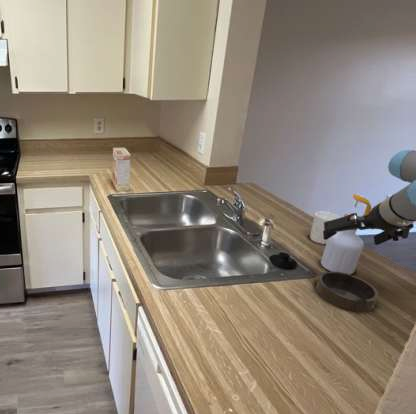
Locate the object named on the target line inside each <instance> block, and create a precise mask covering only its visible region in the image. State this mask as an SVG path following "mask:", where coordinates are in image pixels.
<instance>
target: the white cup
mask: <svg viewBox="0 0 416 414" xmlns="http://www.w3.org/2000/svg"><path fill="white" fill-rule="evenodd" d="M338 218H341V216H339V215H338V214H336V213H333V212H330V211H324V210H321V211H315V213H314V215H313V220H312V223H311V228H310V235H309V239H310V240H311V241H312V242H315V243H317V244H321V245H326V244H327V240H328V239H327V240H324V236H323V231H324V222H327V221H330V220H334V219H338Z"/></svg>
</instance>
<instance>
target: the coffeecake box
mask: <svg viewBox="0 0 416 414" xmlns="http://www.w3.org/2000/svg"><path fill="white" fill-rule="evenodd" d="M130 176H131V153H130V152H129V151H128V149H127V148H126V147H112V184H113V187H114V188H115V191H116V192H124V191H125V192H127V191H130V183H131V182H130V179H131V177H130Z"/></svg>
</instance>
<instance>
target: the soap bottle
mask: <svg viewBox="0 0 416 414" xmlns="http://www.w3.org/2000/svg"><path fill="white" fill-rule="evenodd" d="M352 198H353V199H354V200H356V201H357V202H360V203H362V204H364V205H366V207H365V210H364V212H363V214H362V215H361V216H364V215H368V214H369V212H370V211H371V209H372V206H371V202H370V201H369V200H368V199H367V198H365V197H362V196H360V195H358V194H355V193H353V197H352ZM348 215H349V214H348V213H346V214H345V213H344V214H343V217H345V216H348ZM359 216H360V215H359ZM361 216H360V217H361ZM361 222H362V221H361ZM357 230H358V229H353V230H346V231H339V232H337V234H335V235H333V236H332V237H330V238H329V239H328V240H327V244H325V246H324V247H325V248H324V250H323V253H322V257H321V260H320V265H321V266H322V267H323V268H324V269H326V270H328V272H341V273H346V274H350V275H352V274H354V273H355V271H356V268H357V265H358V262H359V260H360V257H361V254H362V251H363V249H364V247H365V246H364V245H365V244H364V240H363V239H362V238H361V237H360V236H359V235H357Z"/></svg>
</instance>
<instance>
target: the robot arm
mask: <svg viewBox="0 0 416 414" xmlns="http://www.w3.org/2000/svg"><path fill="white" fill-rule="evenodd" d="M387 169H388V173H389V174H390V175H392V176H393V177H394V178H397V179H399V180H400V181H403V182H406V183H408V185H406V186H404V187H403V188H402V189H400V190H398V191H397V192H394V194H391V195H390V196H388V197H387V198H385V199H384V200H382V201H381V202H379V203H378V204H376V205H374V206H373V207H371V210H370V212H369V214H368V215H364V214H363V215H364V216H363V215H361V217H360V215H358V213H357V212H353V213H350V214H348V216H345V217H344V216H342V217H341V216H340V218H338V219H334V220H330V221H327V222H324V231H323V236H324V240H327V239H329V238H330V237H332V236H333V235H335V234H337V232H339V231H346V230H353V229H357V230H359V231H365V230H381V232H379V233H376V234H375V235H373V241H374V242H373V244H374V246H378V245H381V244H383V243H385V242H387V241H390V240H392V241H393V242H399V240H400V239H399V238H401V239H403V240H405V239H408V237H409V234H410V231H411V229H413V228H414V223H415V222H416V150H414V149H411V150H410V149H404V150H401V151H398V152H397V153H396V154H394V155H393V156H392V157H391V158H390V160H389V162H388V167H387ZM361 221H362V222H361Z"/></svg>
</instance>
